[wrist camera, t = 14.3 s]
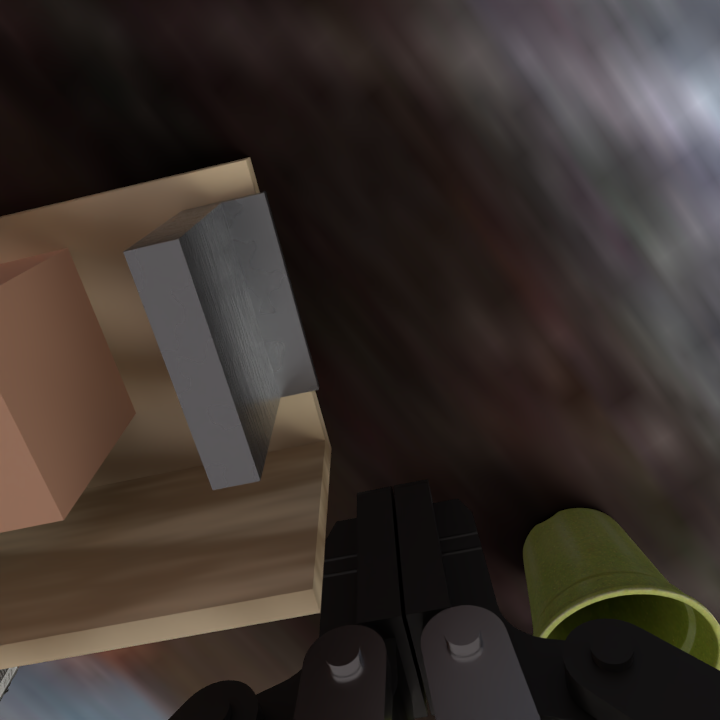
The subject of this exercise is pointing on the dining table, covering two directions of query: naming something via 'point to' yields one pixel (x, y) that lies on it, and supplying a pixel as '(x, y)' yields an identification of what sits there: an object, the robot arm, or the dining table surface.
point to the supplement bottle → (6, 679)
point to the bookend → (225, 328)
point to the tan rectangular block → (52, 391)
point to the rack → (158, 471)
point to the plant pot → (608, 585)
